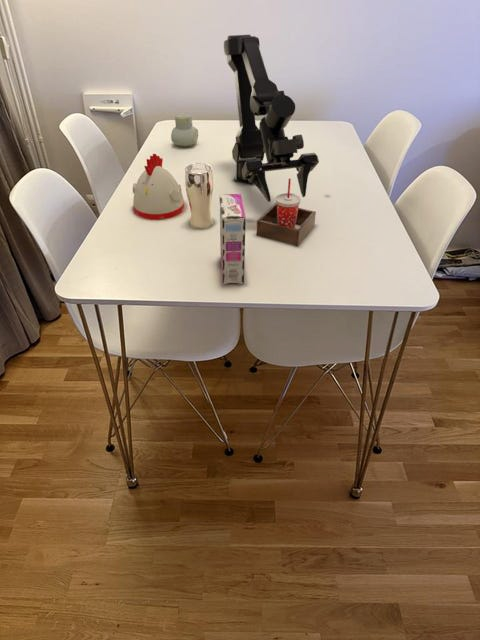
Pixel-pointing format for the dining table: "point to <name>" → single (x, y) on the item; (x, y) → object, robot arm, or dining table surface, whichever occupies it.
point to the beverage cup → (287, 208)
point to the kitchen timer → (157, 192)
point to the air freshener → (184, 130)
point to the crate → (282, 232)
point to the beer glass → (199, 194)
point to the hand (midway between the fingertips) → (287, 198)
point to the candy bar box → (232, 238)
